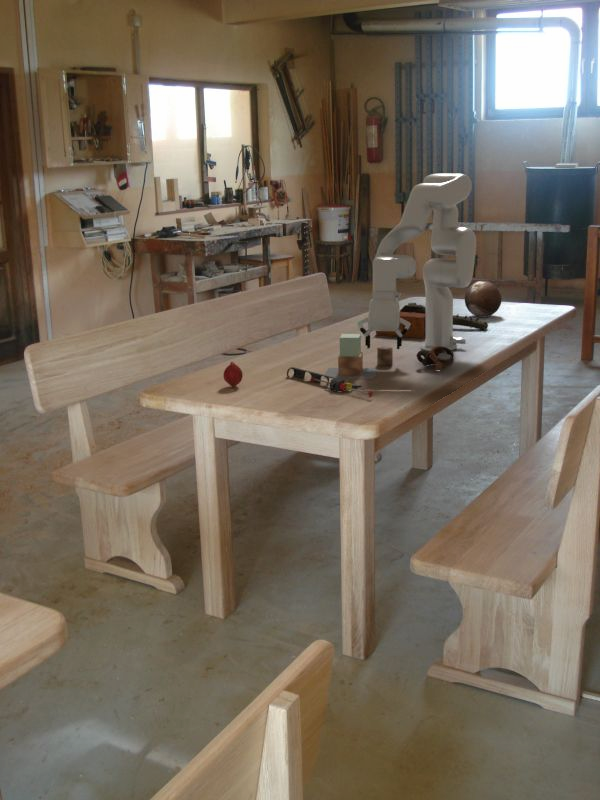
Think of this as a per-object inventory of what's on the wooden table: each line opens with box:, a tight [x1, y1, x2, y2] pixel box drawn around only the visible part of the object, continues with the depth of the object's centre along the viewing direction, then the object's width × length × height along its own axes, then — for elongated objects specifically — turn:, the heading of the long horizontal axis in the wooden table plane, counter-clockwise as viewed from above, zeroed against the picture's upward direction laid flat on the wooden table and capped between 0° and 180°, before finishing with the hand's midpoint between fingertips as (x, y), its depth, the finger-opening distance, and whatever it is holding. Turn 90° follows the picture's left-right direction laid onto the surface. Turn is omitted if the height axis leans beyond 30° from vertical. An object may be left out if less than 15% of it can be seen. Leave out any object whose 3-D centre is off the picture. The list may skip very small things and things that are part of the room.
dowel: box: [376, 346, 394, 368], centre depth 308 cm, size 5×5×6 cm
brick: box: [375, 311, 425, 340], centre depth 357 cm, size 20×8×8 cm, turn 59°
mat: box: [322, 367, 379, 380], centre depth 299 cm, size 16×14×1 cm
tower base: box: [337, 351, 364, 376], centre depth 298 cm, size 7×7×6 cm
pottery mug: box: [416, 346, 455, 371], centre depth 302 cm, size 12×10×8 cm
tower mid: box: [339, 333, 362, 357], centre depth 297 cm, size 6×6×6 cm
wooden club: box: [399, 302, 489, 331], centre depth 368 cm, size 39×5×10 cm, turn 69°
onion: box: [223, 361, 244, 388], centre depth 286 cm, size 6×6×8 cm
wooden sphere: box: [464, 280, 503, 318], centre depth 388 cm, size 15×15×15 cm
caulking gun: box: [286, 366, 374, 398], centre depth 284 cm, size 4×37×10 cm
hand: (383, 348), depth 307 cm, fingers open, 9 cm apart
